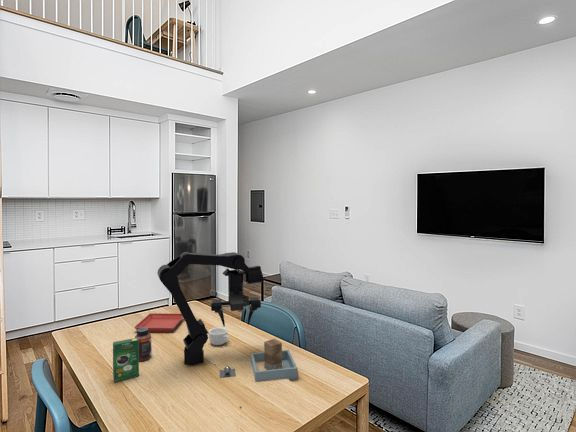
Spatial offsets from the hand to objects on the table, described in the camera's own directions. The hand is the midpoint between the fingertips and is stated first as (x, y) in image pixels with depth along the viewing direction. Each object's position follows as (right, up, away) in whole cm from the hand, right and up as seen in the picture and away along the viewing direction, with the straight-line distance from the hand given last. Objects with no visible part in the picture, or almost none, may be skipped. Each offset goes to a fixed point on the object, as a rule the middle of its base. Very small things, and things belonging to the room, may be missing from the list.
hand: (236, 325), depth 139 cm
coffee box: (-35, -13, -16) cm, 41 cm away
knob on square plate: (-1, -13, -15) cm, 20 cm away
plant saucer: (-40, -10, +31) cm, 52 cm away
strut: (+15, -12, -11) cm, 22 cm away
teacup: (-8, -12, +11) cm, 18 cm away
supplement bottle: (-35, -12, -1) cm, 37 cm away
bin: (+15, -13, -11) cm, 23 cm away
